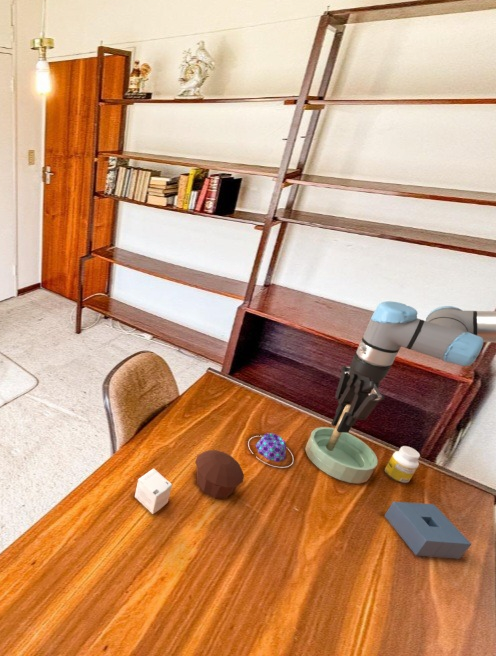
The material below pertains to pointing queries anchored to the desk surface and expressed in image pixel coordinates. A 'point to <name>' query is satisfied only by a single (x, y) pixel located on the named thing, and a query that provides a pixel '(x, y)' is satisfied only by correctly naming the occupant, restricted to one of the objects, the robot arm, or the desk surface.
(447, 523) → the block
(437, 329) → the robot arm
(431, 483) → the desk surface
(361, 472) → the bowl
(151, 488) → the product carton
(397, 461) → the supplement bottle
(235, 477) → the muffin
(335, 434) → the stick
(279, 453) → the checkered ringed planet
